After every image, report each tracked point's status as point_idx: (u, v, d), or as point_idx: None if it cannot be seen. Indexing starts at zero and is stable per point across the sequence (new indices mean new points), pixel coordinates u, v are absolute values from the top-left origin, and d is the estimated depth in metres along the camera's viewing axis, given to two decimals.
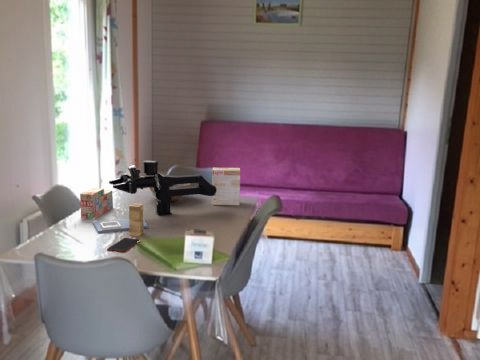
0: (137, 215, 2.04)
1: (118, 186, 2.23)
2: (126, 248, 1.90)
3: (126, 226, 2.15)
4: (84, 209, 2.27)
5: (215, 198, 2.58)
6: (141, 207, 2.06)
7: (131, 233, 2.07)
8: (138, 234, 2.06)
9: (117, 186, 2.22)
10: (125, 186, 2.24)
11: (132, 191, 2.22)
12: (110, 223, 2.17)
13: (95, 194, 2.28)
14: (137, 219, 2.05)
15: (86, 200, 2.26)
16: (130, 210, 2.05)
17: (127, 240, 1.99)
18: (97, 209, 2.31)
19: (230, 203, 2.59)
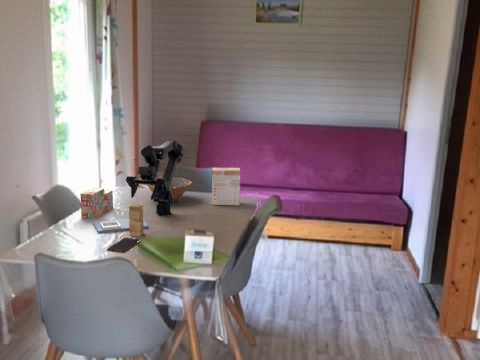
0: (137, 215, 2.04)
1: (154, 195, 2.13)
2: (126, 248, 1.90)
3: (126, 226, 2.15)
4: (85, 209, 2.28)
5: (215, 198, 2.58)
6: (141, 207, 2.06)
7: (131, 233, 2.07)
8: (138, 234, 2.06)
9: (154, 195, 2.13)
10: (157, 189, 2.15)
11: (167, 187, 2.17)
12: (110, 223, 2.17)
13: (95, 194, 2.29)
14: (137, 219, 2.05)
15: (87, 200, 2.26)
16: (130, 210, 2.05)
17: (127, 240, 1.99)
18: (97, 209, 2.32)
19: (230, 203, 2.59)
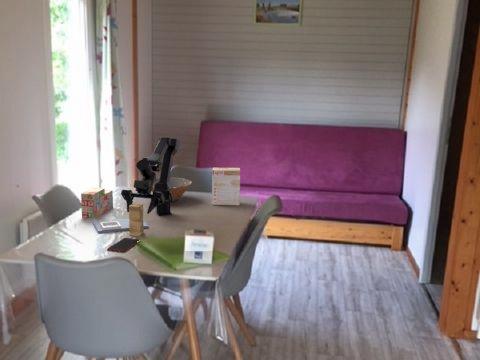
0: (137, 215, 2.04)
1: (150, 209, 2.08)
2: (126, 248, 1.90)
3: (126, 226, 2.15)
4: (85, 209, 2.28)
5: (215, 198, 2.58)
6: (141, 207, 2.06)
7: (131, 233, 2.07)
8: (138, 234, 2.06)
9: (150, 209, 2.08)
10: (153, 203, 2.10)
11: (163, 201, 2.12)
12: (110, 223, 2.17)
13: (96, 194, 2.29)
14: (137, 219, 2.05)
15: (87, 200, 2.27)
16: (130, 210, 2.05)
17: (127, 240, 1.99)
18: (98, 209, 2.32)
19: (230, 203, 2.59)
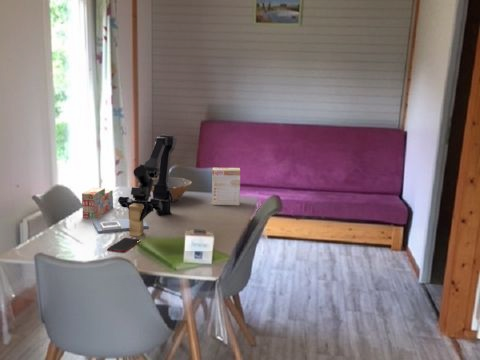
0: (137, 215, 2.04)
1: (143, 216, 2.07)
2: (126, 248, 1.90)
3: (126, 226, 2.15)
4: (86, 208, 2.28)
5: (215, 198, 2.58)
6: (141, 207, 2.06)
7: (131, 233, 2.07)
8: (138, 234, 2.06)
9: (143, 216, 2.06)
10: None
11: (161, 208, 2.10)
12: (110, 223, 2.17)
13: (97, 194, 2.29)
14: (137, 219, 2.05)
15: (88, 200, 2.27)
16: (130, 210, 2.05)
17: (127, 240, 1.99)
18: (99, 209, 2.32)
19: (230, 203, 2.59)
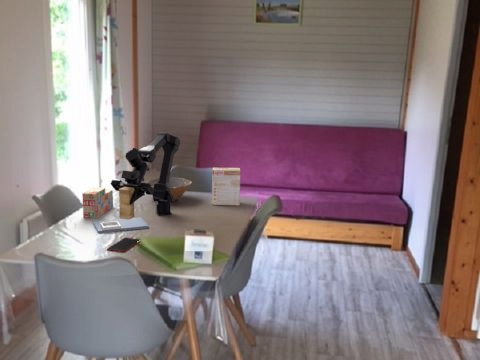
0: (127, 198, 2.04)
1: (133, 199, 2.06)
2: (126, 248, 1.90)
3: (126, 226, 2.15)
4: (87, 208, 2.28)
5: (215, 198, 2.58)
6: (131, 191, 2.06)
7: (121, 216, 2.07)
8: (128, 217, 2.06)
9: (133, 200, 2.06)
10: (137, 193, 2.07)
11: (152, 192, 2.08)
12: (110, 223, 2.17)
13: (97, 193, 2.29)
14: (127, 202, 2.04)
15: (89, 200, 2.27)
16: (120, 193, 2.05)
17: (127, 240, 1.99)
18: (99, 208, 2.32)
19: (230, 203, 2.59)
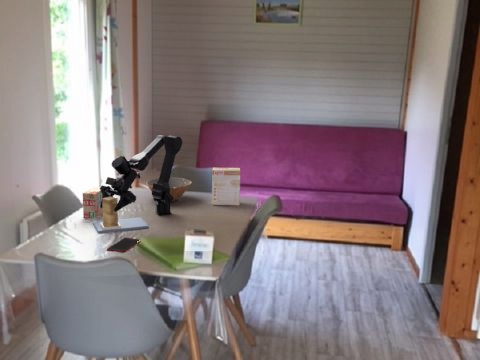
0: (108, 208, 2.09)
1: (118, 207, 2.09)
2: (126, 248, 1.90)
3: (126, 226, 2.15)
4: (87, 208, 2.29)
5: (215, 198, 2.58)
6: (114, 201, 2.10)
7: (104, 225, 2.13)
8: None
9: (118, 207, 2.09)
10: (123, 201, 2.10)
11: (134, 200, 2.10)
12: None
13: (97, 193, 2.30)
14: (108, 212, 2.10)
15: (89, 199, 2.28)
16: (103, 203, 2.11)
17: (127, 240, 1.99)
18: (99, 208, 2.33)
19: (230, 203, 2.59)
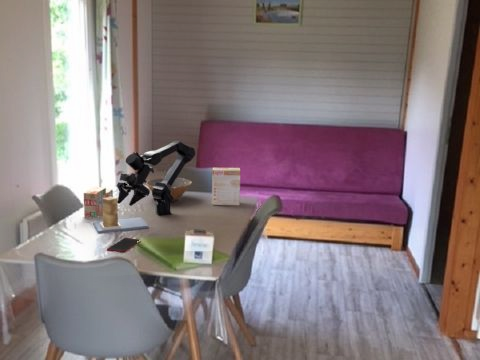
0: (108, 208, 2.09)
1: (133, 201, 2.16)
2: (126, 248, 1.90)
3: (126, 226, 2.15)
4: (88, 208, 2.29)
5: (215, 198, 2.58)
6: (114, 201, 2.10)
7: (104, 225, 2.13)
8: None
9: (132, 201, 2.16)
10: (137, 195, 2.17)
11: (147, 193, 2.17)
12: None
13: (98, 193, 2.30)
14: (108, 212, 2.10)
15: (90, 199, 2.28)
16: (103, 203, 2.11)
17: (127, 240, 1.99)
18: (100, 208, 2.33)
19: (230, 203, 2.59)
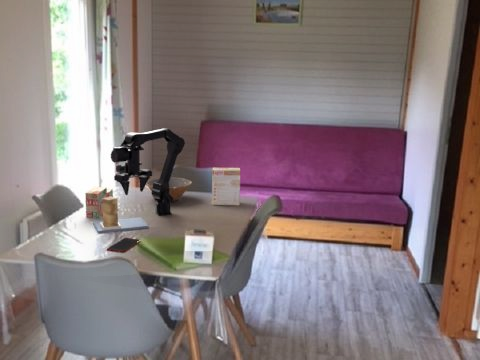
0: (108, 208, 2.09)
1: (125, 190, 2.21)
2: (126, 248, 1.90)
3: (126, 226, 2.15)
4: (90, 208, 2.29)
5: (215, 198, 2.58)
6: (114, 201, 2.10)
7: (104, 225, 2.13)
8: None
9: (125, 191, 2.21)
10: (124, 183, 2.20)
11: (120, 180, 2.16)
12: None
13: (100, 193, 2.31)
14: (108, 212, 2.10)
15: (92, 199, 2.28)
16: (103, 203, 2.11)
17: (127, 240, 1.99)
18: (102, 208, 2.34)
19: (230, 203, 2.59)
